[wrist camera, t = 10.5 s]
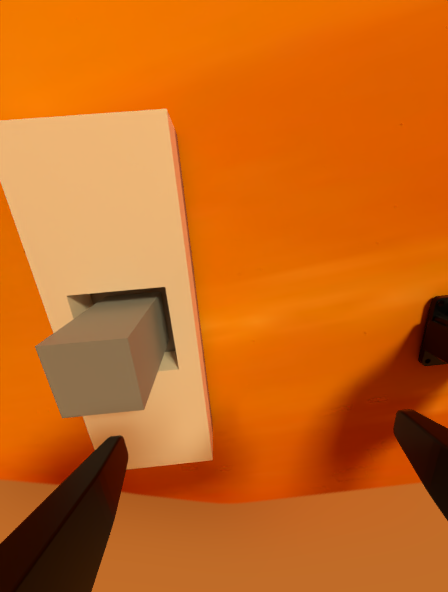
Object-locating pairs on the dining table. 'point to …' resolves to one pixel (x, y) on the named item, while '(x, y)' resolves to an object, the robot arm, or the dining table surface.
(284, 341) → the dining table surface
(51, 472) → the dining table surface
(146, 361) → the plug
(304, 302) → the dining table surface
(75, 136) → the cream socket panel
